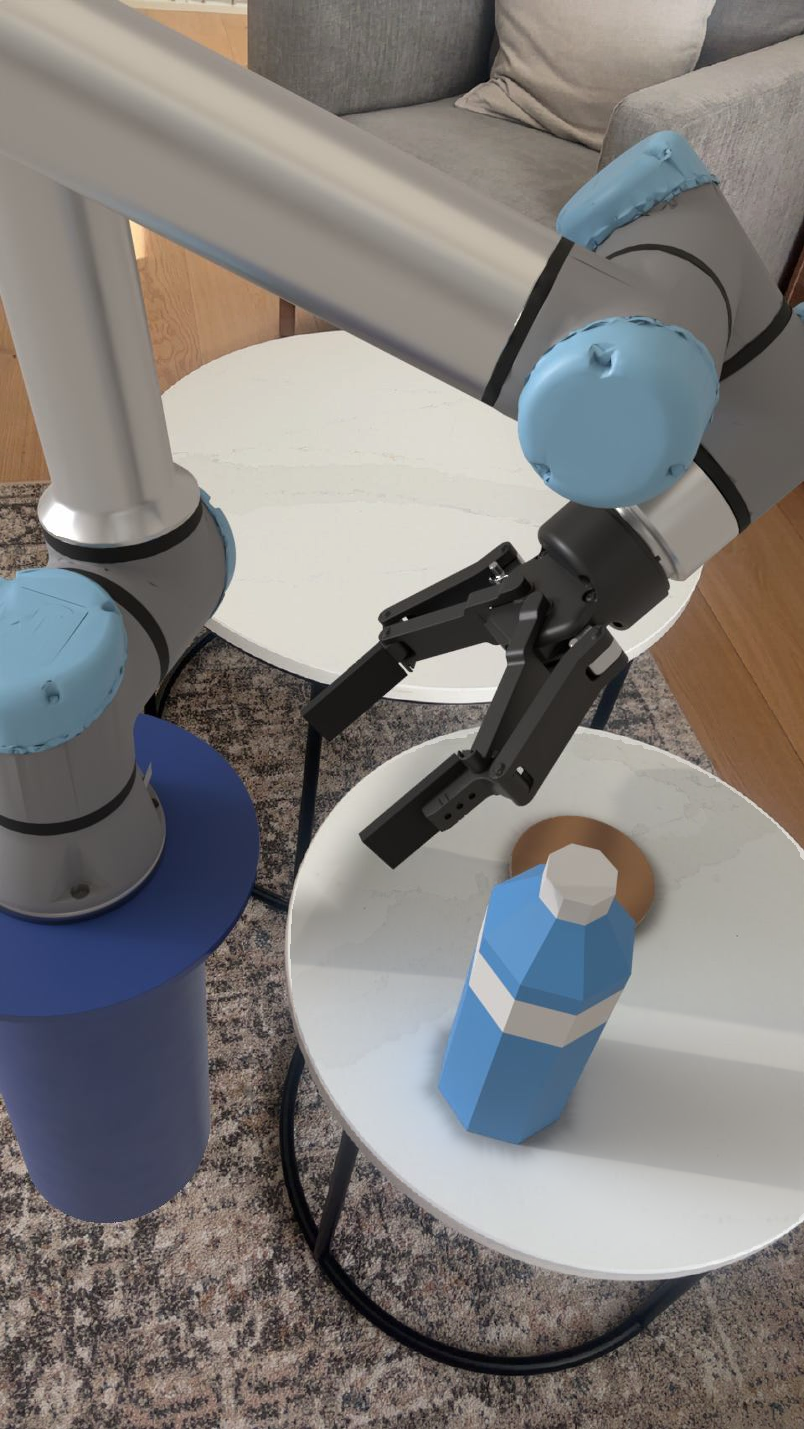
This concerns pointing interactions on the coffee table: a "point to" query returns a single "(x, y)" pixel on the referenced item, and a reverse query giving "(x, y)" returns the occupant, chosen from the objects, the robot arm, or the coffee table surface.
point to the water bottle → (537, 994)
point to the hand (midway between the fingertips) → (341, 784)
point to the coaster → (591, 833)
